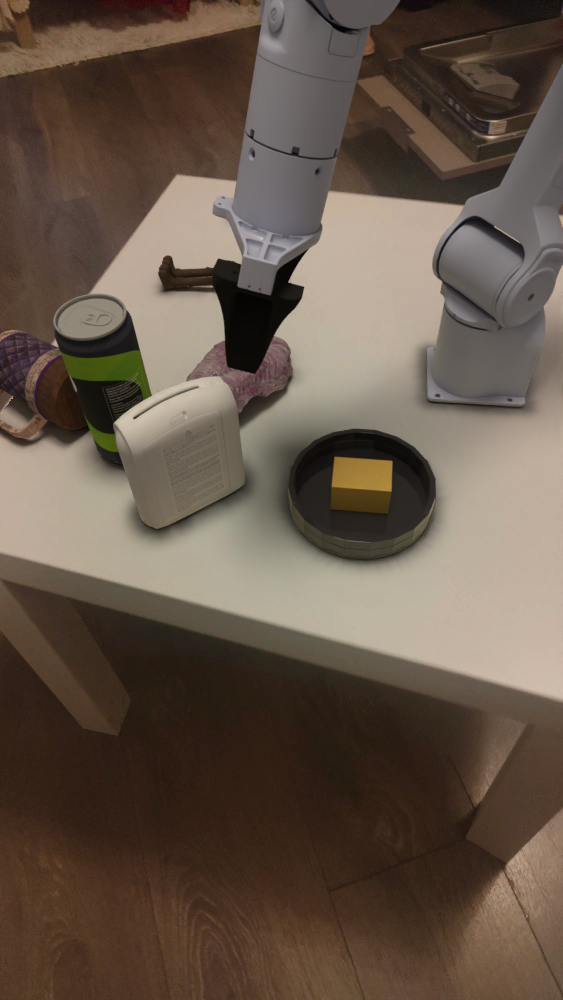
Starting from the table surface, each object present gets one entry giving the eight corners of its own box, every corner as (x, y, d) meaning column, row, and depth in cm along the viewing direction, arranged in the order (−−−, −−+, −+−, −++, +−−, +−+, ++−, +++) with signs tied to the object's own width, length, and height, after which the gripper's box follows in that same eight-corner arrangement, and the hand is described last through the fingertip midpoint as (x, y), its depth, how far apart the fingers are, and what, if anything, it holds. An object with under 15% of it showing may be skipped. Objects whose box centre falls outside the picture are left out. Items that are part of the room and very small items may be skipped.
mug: (122, 381, 66) (43, 342, 71) (79, 348, 59) (-5, 308, 64) (70, 469, 65) (-5, 424, 70) (21, 446, 59) (-59, 398, 64)
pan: (430, 452, 62) (434, 433, 60) (432, 566, 54) (437, 548, 52) (297, 443, 63) (297, 424, 61) (281, 552, 56) (279, 535, 54)
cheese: (389, 483, 59) (392, 460, 57) (388, 514, 57) (391, 491, 55) (333, 479, 60) (334, 456, 57) (330, 509, 58) (331, 486, 55)
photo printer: (229, 456, 62) (214, 354, 53) (253, 485, 60) (242, 383, 50) (131, 506, 59) (96, 406, 49) (152, 538, 57) (120, 441, 47)
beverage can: (170, 424, 65) (139, 294, 53) (151, 472, 61) (113, 343, 49) (111, 417, 66) (67, 288, 54) (88, 464, 62) (36, 336, 50)
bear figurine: (176, 220, 83) (289, 213, 80) (184, 251, 86) (293, 245, 84) (140, 306, 72) (269, 301, 70) (151, 338, 76) (275, 334, 73)
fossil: (166, 415, 66) (156, 375, 62) (252, 340, 73) (248, 300, 69) (229, 448, 63) (222, 408, 59) (313, 367, 70) (312, 326, 66)
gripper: (246, 97, 44) (216, 285, 53) (200, 157, 33) (173, 379, 43) (347, 125, 45) (300, 307, 54) (333, 193, 34) (278, 406, 43)
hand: (250, 341), depth 48 cm, fingers open, 7 cm apart
